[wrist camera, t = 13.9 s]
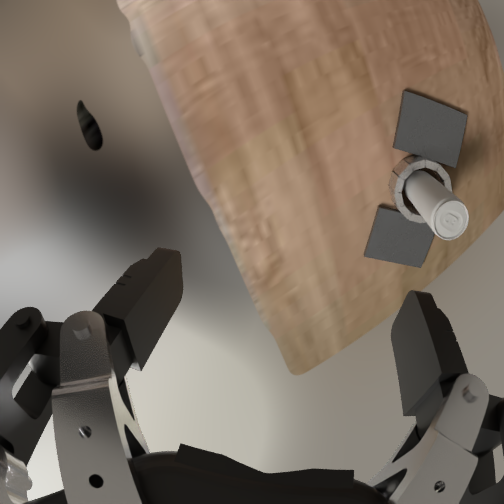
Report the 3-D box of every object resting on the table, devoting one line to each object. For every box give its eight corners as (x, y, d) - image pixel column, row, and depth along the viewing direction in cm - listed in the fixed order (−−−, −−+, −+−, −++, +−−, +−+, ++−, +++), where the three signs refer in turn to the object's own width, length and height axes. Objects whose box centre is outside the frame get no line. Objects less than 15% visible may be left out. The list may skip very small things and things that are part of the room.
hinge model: (402, 90, 29) (410, 90, 26) (464, 114, 28) (474, 116, 25) (363, 253, 42) (366, 264, 39) (419, 265, 41) (424, 275, 38)
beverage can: (423, 206, 36) (456, 247, 26) (396, 193, 36) (424, 232, 26) (437, 177, 33) (476, 210, 23) (410, 163, 33) (445, 191, 23)
